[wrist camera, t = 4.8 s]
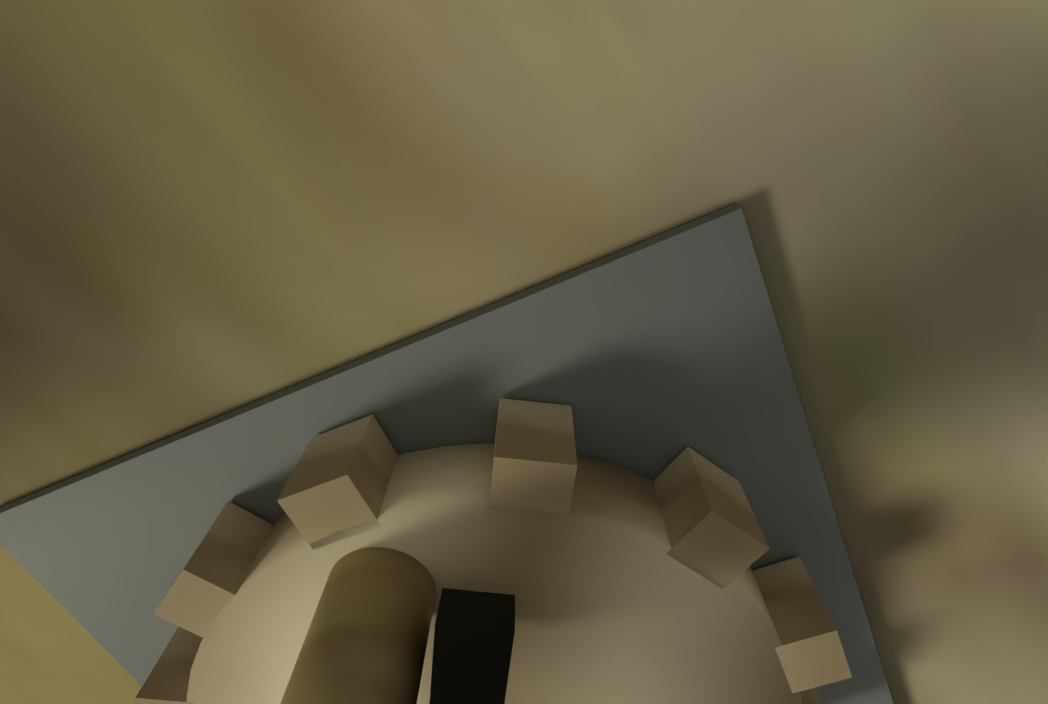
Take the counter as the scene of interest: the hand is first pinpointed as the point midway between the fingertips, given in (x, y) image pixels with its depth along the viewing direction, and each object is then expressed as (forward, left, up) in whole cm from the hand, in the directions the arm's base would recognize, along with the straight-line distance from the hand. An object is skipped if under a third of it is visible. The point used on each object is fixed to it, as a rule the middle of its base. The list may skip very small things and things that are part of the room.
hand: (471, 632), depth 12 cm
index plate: (-4, +2, -3) cm, 5 cm away
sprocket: (-4, +2, -3) cm, 5 cm away
